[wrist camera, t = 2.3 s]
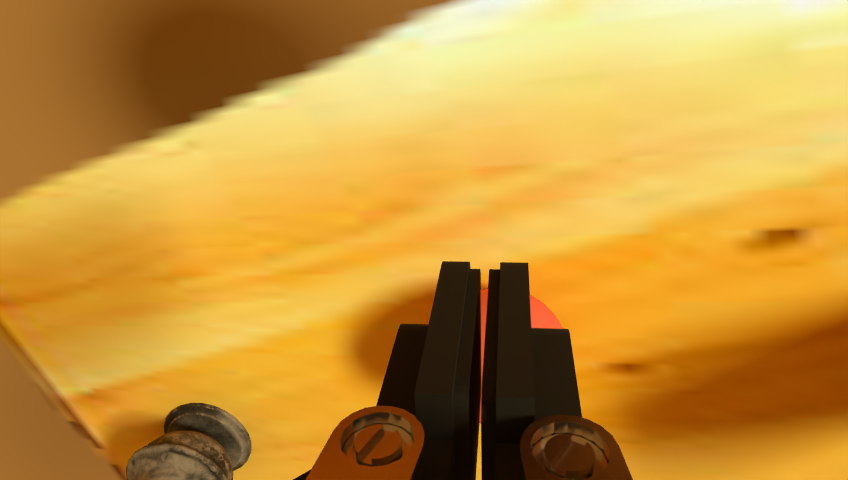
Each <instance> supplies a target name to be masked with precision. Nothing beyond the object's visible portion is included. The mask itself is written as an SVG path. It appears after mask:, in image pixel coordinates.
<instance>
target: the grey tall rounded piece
mask: <svg viewBox="0 0 848 480" xmlns="http://www.w3.org/2000/svg"><path fill="white" fill-rule="evenodd" d="M250 453H251V441H250V437H249V434H248V432H247V431H246V429H245V428H244V426H243V425H242V424H241V423H240V422H239V421H238V420H237V419H236V418H235V417H234V416H232V415H231V414H229V413H228V412H226V411H225V410H222V409H220V408H218V407H215V406H213V405H208V404H203V403H189V404H185V405H181V406H179V407H177V408H176V409H174V410H173V411H172V412H171V413H170V414H169V415H168V417H167V418H166V421H165V424H164V435H163V436H161V437H159V438H158V439H156V440H154V441H153V442H151V443H149V444H148V446H145V447H143V448H141V449H139V450H138V451H136V452H135V453H134V454H133V456H132V457H131V458H130V459H129V461H128V465H127V468H126V474H127V480H233V471H234V470H236V469H238V468H240V467H242V466H243V465H244V464H245V463H246V462H247V460H248V458H249V456H250Z"/></svg>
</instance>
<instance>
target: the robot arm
mask: <svg viewBox="0 0 848 480" xmlns="http://www.w3.org/2000/svg"><path fill="white" fill-rule="evenodd" d="M480 404H481V445H482V480H633V479H632V476H631V474H630V471H629V469H628V467H627V464H626V462H625V459H624V457H623V455H622V452H621V450H620V447H619V445H618V444H617V442H616V441H615V439H614V438H613V436H612V435H611V434H610V433H609V432H608V431H606V430H605V429H604V428H603V427H602V426H600V425H598V424H596V423H594V422H592V421H590V420H588V419H585V418H582V414H581V407H580V400H579V394H578V387H577V380H576V373H575V367H574V360H573V353H572V346H571V339H570V333H569V330H568V329H553V328H531V311H530V292H529V272H528V263H504V262H501V263H500V270H496V269H490V270H489V284H488V299H487V314H486V329H485V344H484V359H483V375H482V393H481V273H480V269H470V262H447V261H443V262H442V265H441V270H440V274H439V279H438V284H437V288H436V293H435V298H434V302H433V307H432V312H431V316H430V321H429V325H426V324H401V325H400V327H399V329H398V333H397V336H396V340H395V343H394V347H393V350H392V354H391V357H390V360H389V364H388V367H387V371H386V374H385V378H384V381H383V385H382V388H381V392H380V395H379V399H378V402H377V406H374V407H368V408H364V409H361V410H359V411H356V412H354V413H352V414H350V415H349V416H347V417H346V418H345V419H343V420H342V421H341V422H340V423H339V424H338V426H337V427H336V428H335V429H334V431H333V432H332V434H331V436H330V438H329V439H328V441H327V443H326V445H325V446H324V448H323V450H322V452H321V453H320V455H319V457H318V459H317V460H316V462H315V464H314V466H313V467H312V469H311V470H309V471H308V472H306V473H304V474H302V475H301V476H299V477H297V478H295V479H293V480H476V464H477V449H478V434H479V419H480Z"/></svg>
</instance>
